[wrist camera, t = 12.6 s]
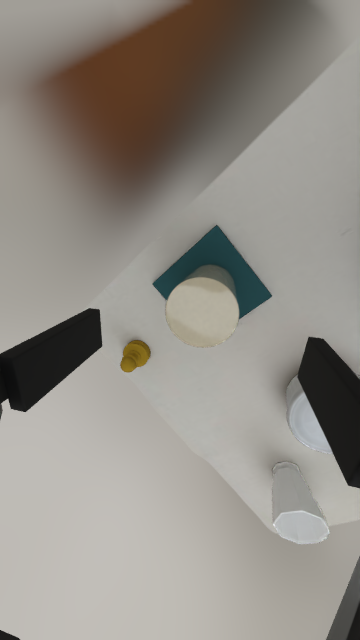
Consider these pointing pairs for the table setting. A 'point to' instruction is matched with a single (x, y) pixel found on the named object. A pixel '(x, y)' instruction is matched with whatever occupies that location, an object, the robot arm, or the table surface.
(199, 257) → the mat
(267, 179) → the table surface
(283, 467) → the cup
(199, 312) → the cream cylinder
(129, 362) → the chess piece
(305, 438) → the ramekin
